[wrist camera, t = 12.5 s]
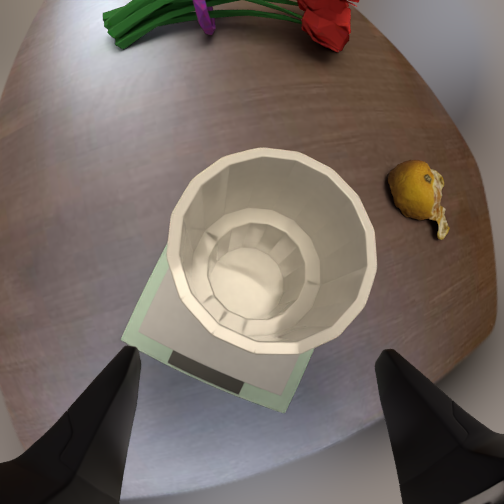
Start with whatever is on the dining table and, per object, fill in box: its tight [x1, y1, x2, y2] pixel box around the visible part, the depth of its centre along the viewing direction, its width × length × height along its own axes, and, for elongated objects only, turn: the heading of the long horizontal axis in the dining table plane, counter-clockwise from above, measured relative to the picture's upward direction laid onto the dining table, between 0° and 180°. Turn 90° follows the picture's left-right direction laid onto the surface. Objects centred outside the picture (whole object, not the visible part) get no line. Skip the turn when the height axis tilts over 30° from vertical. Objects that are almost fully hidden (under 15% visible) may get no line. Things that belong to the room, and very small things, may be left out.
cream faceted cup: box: [166, 147, 377, 355], centre depth 14 cm, size 7×7×10 cm
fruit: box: [388, 160, 449, 240], centre depth 24 cm, size 8×8×4 cm
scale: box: [121, 243, 314, 413], centre depth 20 cm, size 14×12×3 cm
